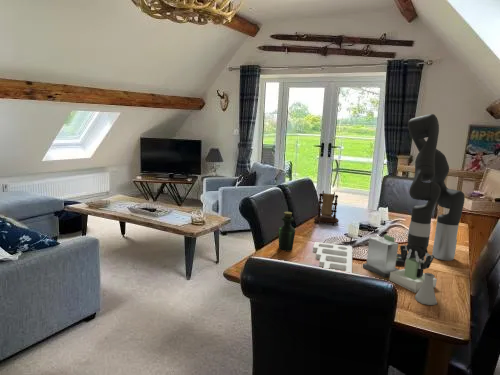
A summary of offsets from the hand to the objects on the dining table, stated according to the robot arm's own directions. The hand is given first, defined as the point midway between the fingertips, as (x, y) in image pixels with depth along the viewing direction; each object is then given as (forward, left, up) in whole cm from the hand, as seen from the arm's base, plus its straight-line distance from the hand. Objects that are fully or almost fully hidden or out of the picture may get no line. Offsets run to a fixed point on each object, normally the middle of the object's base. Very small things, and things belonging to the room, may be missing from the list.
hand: (413, 274), depth 147 cm
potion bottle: (+25, -52, -4) cm, 58 cm away
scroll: (-27, -84, -4) cm, 88 cm away
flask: (+8, +12, -4) cm, 15 cm away
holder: (+17, -28, -4) cm, 34 cm away
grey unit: (+1, -14, -4) cm, 15 cm away
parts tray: (0, 0, -4) cm, 4 cm away
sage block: (0, 0, -1) cm, 1 cm away
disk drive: (-14, -20, -4) cm, 25 cm away
